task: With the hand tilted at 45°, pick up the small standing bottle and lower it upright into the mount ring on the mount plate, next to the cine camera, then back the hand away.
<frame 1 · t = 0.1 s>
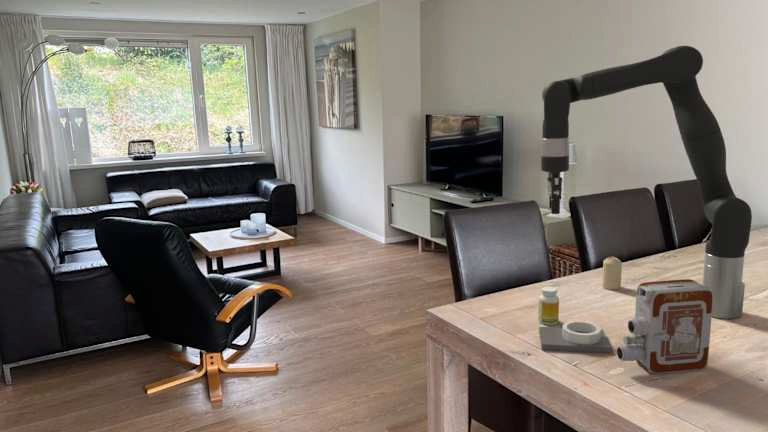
hand: (554, 210, 161), 29 cm above the table, tool pointing down, fingers open, 8 cm apart
candle: (611, 287, 182), on the table
supplement bottle: (548, 322, 157), on the table
mount plate: (581, 342, 143), on the table
cine camera: (658, 367, 128), on the table
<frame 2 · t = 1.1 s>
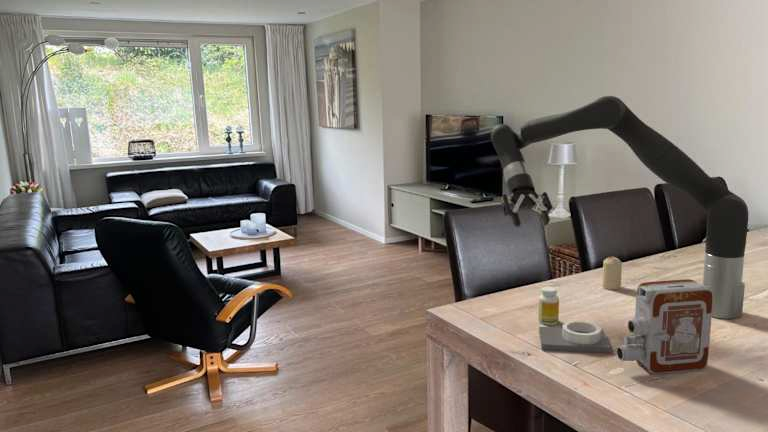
hand: (532, 224, 162), 25 cm above the table, tool tilted 45°, fingers open, 8 cm apart
nothing on the table moved.
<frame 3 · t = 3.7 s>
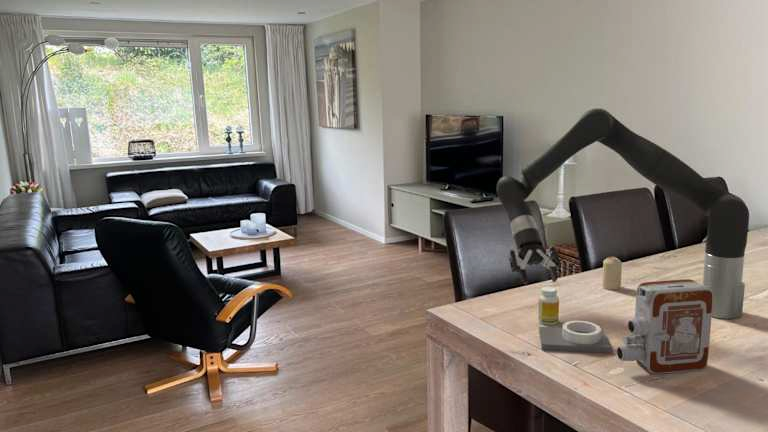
hand: (541, 281, 160), 10 cm above the table, tool tilted 45°, fingers open, 8 cm apart
nothing on the table moved.
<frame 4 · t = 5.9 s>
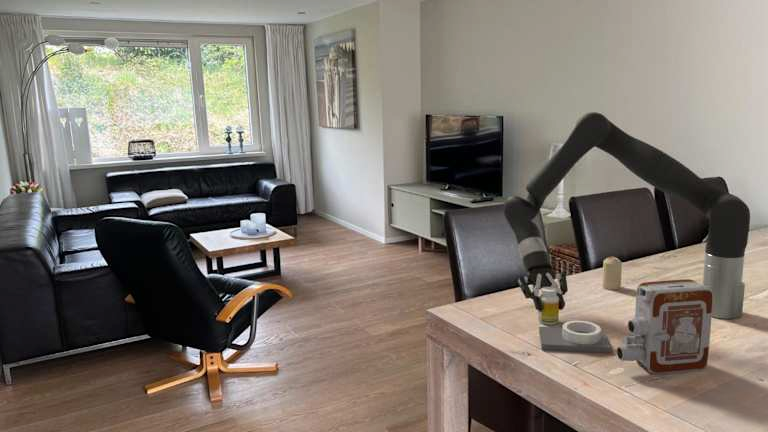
hand: (551, 309, 154), 4 cm above the table, tool tilted 45°, fingers closed on supplement bottle, 5 cm apart
supplement bottle: (548, 322, 157), on the table, touching gripper
everything else where it was.
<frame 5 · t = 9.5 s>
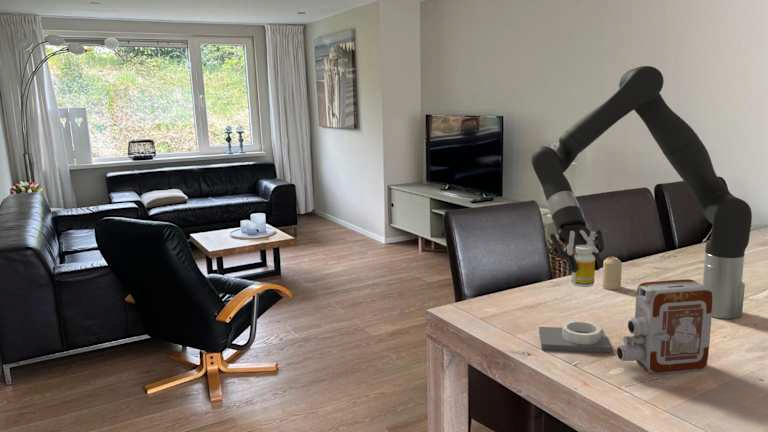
hand: (586, 269, 137), 20 cm above the table, tool tilted 45°, fingers closed on supplement bottle, 5 cm apart
supplement bottle: (582, 284, 140), point 15 cm above the table, touching gripper
everything else where it was.
when the fingers open (7 cm above the table, at t = 13.2 s): supplement bottle drops 1 cm, resting on mount plate.
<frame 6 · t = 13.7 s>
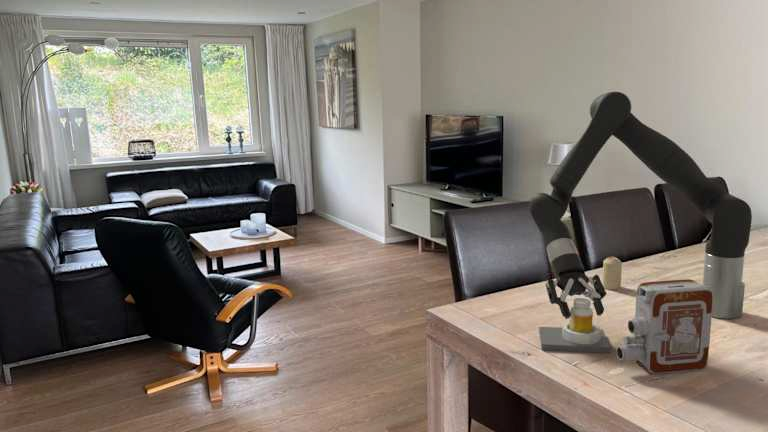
hand: (584, 315, 140), 8 cm above the table, tool tilted 45°, fingers open, 8 cm apart
supplement bottle: (580, 337, 143), point 1 cm above the table, touching mount plate
everything else where it was.
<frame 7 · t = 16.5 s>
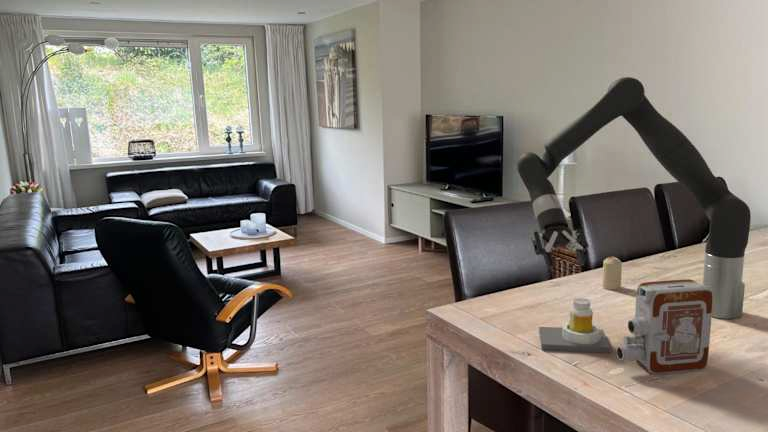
hand: (567, 265, 148), 18 cm above the table, tool tilted 45°, fingers open, 8 cm apart
nothing on the table moved.
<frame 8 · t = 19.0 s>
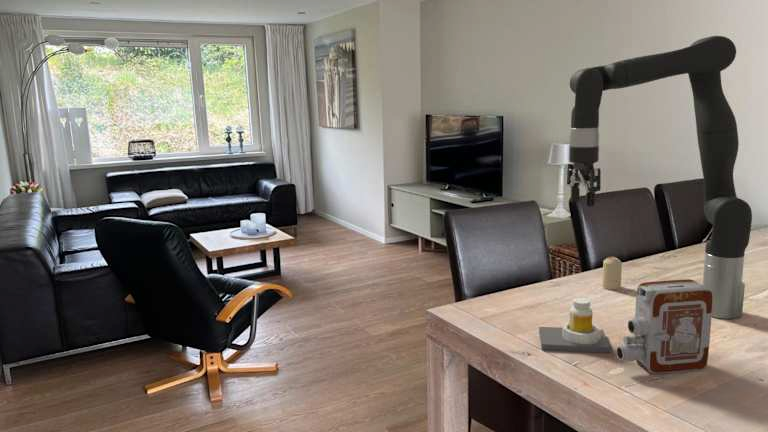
hand: (582, 203, 155), 32 cm above the table, tool pointing down, fingers open, 8 cm apart
nothing on the table moved.
at the end: supplement bottle 0.3 cm off-centre on the mount plate, point 1.3 cm above the mount plate's base; supplement bottle tilted 0°; the gripper is holding nothing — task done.
